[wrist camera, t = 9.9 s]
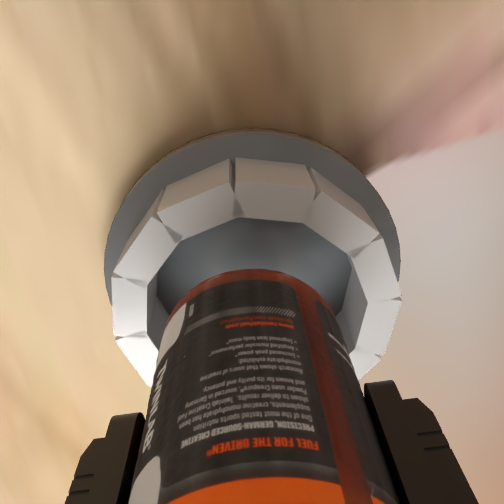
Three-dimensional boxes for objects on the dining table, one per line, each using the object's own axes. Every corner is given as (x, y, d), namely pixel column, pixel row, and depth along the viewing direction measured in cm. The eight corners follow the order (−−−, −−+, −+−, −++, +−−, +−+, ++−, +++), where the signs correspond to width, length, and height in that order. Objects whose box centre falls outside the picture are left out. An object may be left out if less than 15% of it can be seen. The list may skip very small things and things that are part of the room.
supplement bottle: (127, 316, 15) (-74, 901, 5) (281, 226, 14) (407, 773, 4) (227, 421, 18) (220, 957, 8) (366, 354, 16) (577, 892, 6)
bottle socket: (217, 57, 16) (212, 69, 13) (452, 241, 19) (493, 285, 16) (60, 297, 20) (27, 350, 17) (276, 410, 24) (282, 471, 21)
